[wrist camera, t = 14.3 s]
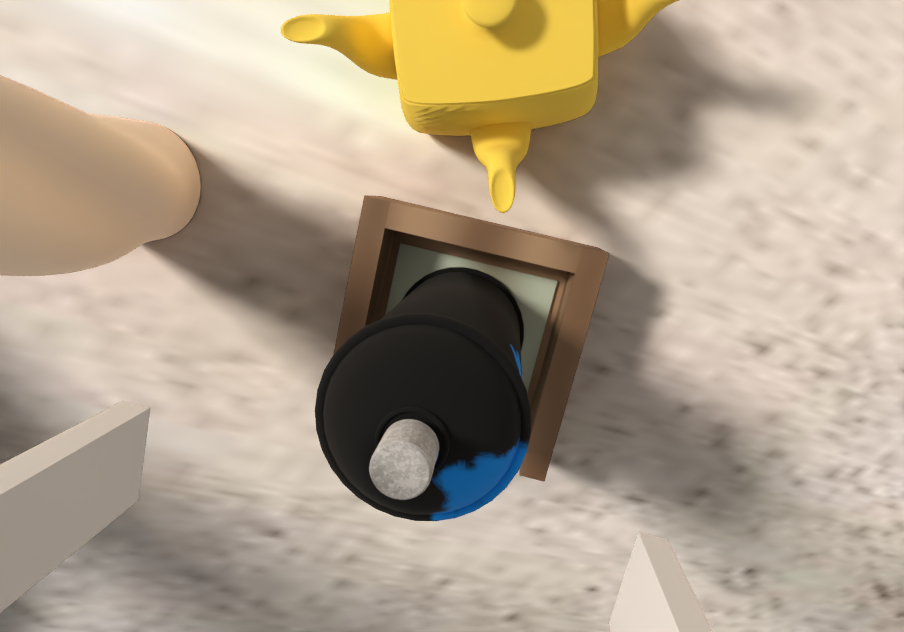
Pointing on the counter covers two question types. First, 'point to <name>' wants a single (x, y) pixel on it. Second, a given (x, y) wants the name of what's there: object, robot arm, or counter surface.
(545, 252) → the u rest
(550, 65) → the teapot
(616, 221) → the counter surface
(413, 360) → the aerosol can
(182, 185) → the water bottle
